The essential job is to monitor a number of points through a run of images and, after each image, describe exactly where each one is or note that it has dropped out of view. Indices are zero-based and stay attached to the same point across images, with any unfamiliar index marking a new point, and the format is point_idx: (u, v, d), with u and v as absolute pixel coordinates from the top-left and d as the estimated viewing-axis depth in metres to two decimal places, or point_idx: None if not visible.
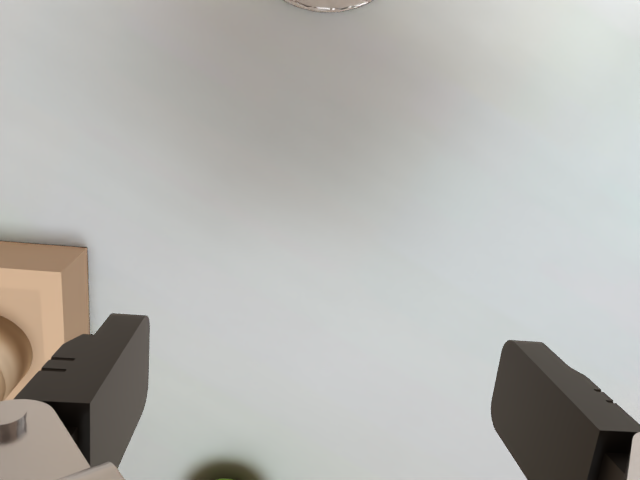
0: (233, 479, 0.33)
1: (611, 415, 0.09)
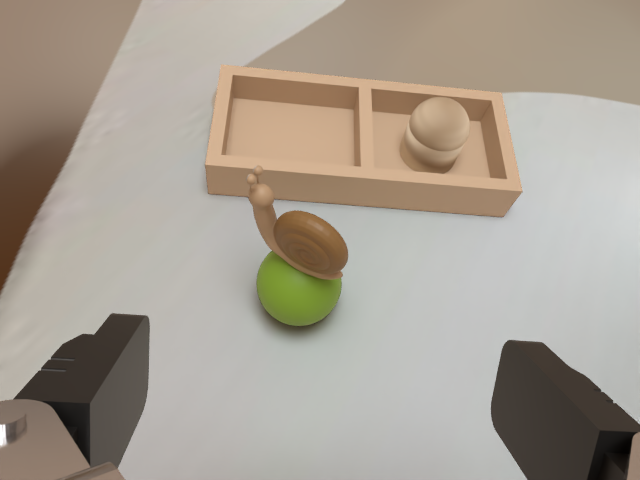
0: None
1: (611, 415, 0.09)
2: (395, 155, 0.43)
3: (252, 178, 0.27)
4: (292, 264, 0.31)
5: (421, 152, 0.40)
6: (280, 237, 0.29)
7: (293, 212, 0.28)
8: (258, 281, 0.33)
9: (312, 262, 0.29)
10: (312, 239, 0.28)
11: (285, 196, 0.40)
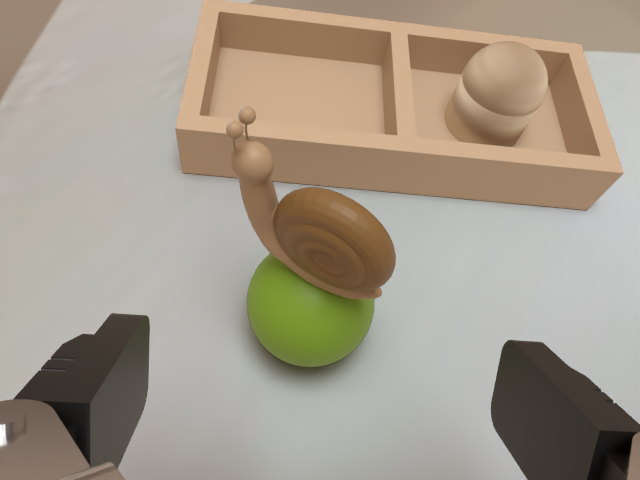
0: None
1: (611, 415, 0.09)
2: (439, 125, 0.32)
3: (237, 126, 0.15)
4: (302, 275, 0.20)
5: (479, 118, 0.29)
6: (284, 232, 0.18)
7: (306, 189, 0.17)
8: (249, 299, 0.22)
9: (335, 273, 0.18)
10: (338, 234, 0.16)
11: (290, 177, 0.29)
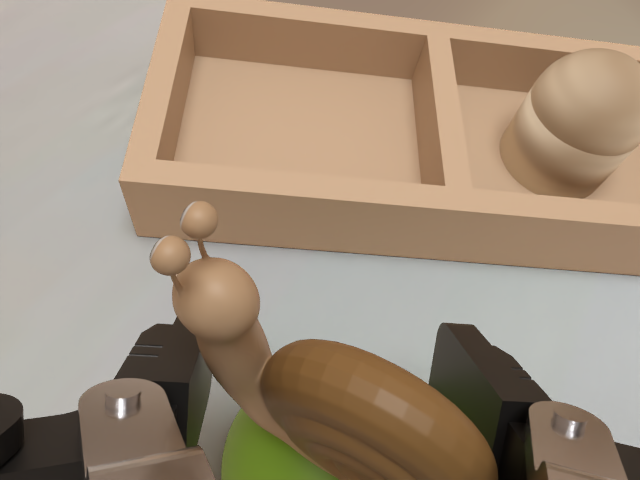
0: None
1: (518, 388, 0.10)
2: (494, 163, 0.23)
3: (173, 254, 0.07)
4: (311, 461, 0.11)
5: (557, 157, 0.21)
6: (279, 415, 0.10)
7: (323, 353, 0.09)
8: (224, 474, 0.13)
9: None
10: (391, 458, 0.08)
11: (289, 242, 0.20)
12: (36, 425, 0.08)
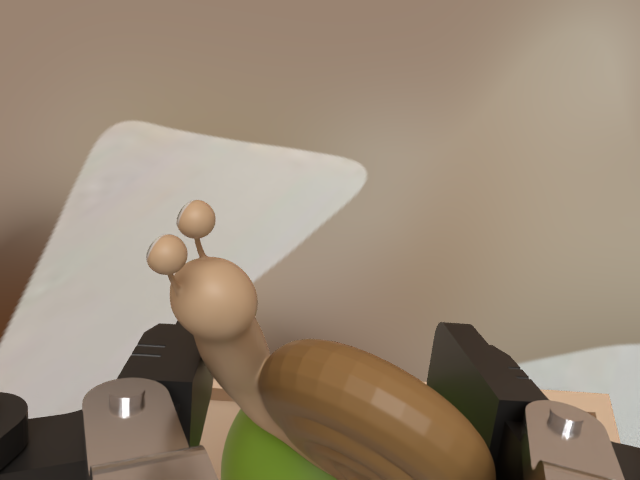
0: None
1: (515, 387, 0.10)
2: None
3: (170, 253, 0.07)
4: (310, 461, 0.11)
5: None
6: (277, 414, 0.10)
7: (320, 352, 0.09)
8: (223, 474, 0.13)
9: None
10: (388, 457, 0.08)
11: None
12: (40, 424, 0.08)
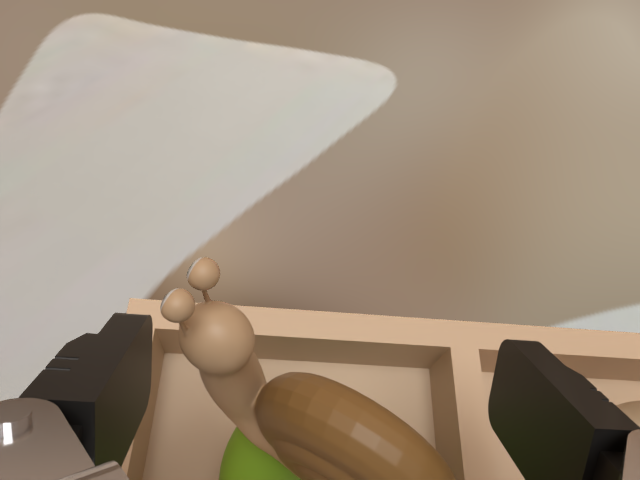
0: None
1: (606, 413, 0.09)
2: None
3: (180, 305, 0.08)
4: (300, 477, 0.13)
5: None
6: (270, 438, 0.11)
7: (309, 387, 0.10)
8: None
9: None
10: None
11: None
12: None
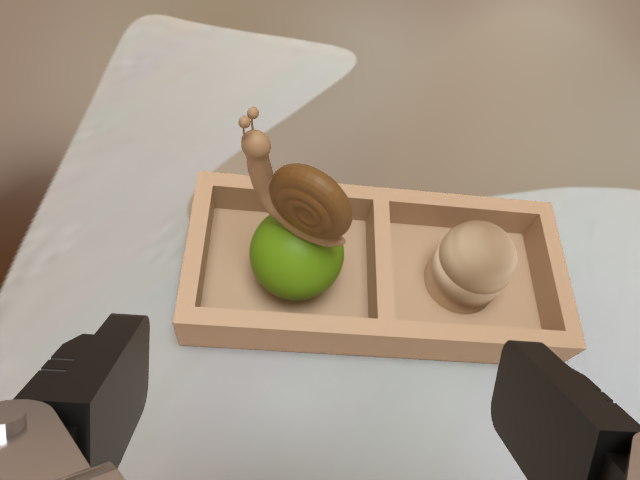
0: None
1: (611, 415, 0.09)
2: (419, 286, 0.34)
3: (246, 120, 0.23)
4: (289, 228, 0.28)
5: (454, 292, 0.31)
6: (276, 194, 0.26)
7: (292, 164, 0.25)
8: (251, 248, 0.30)
9: (311, 224, 0.26)
10: (312, 195, 0.24)
11: (279, 348, 0.31)
12: None
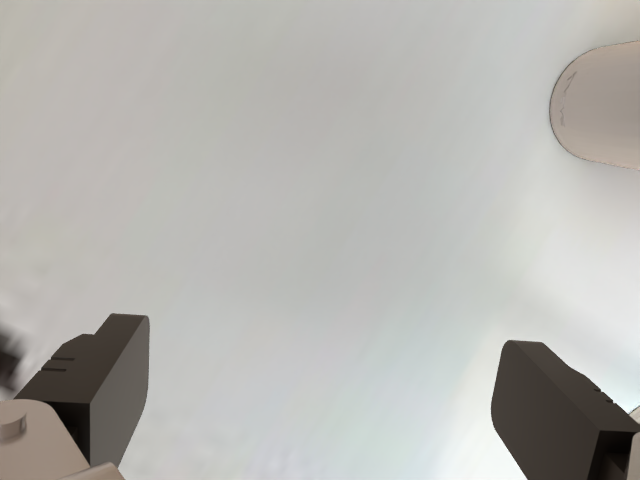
0: None
1: (611, 415, 0.09)
2: None
3: None
4: None
5: None
6: None
7: None
8: None
9: None
10: None
11: None
12: None
